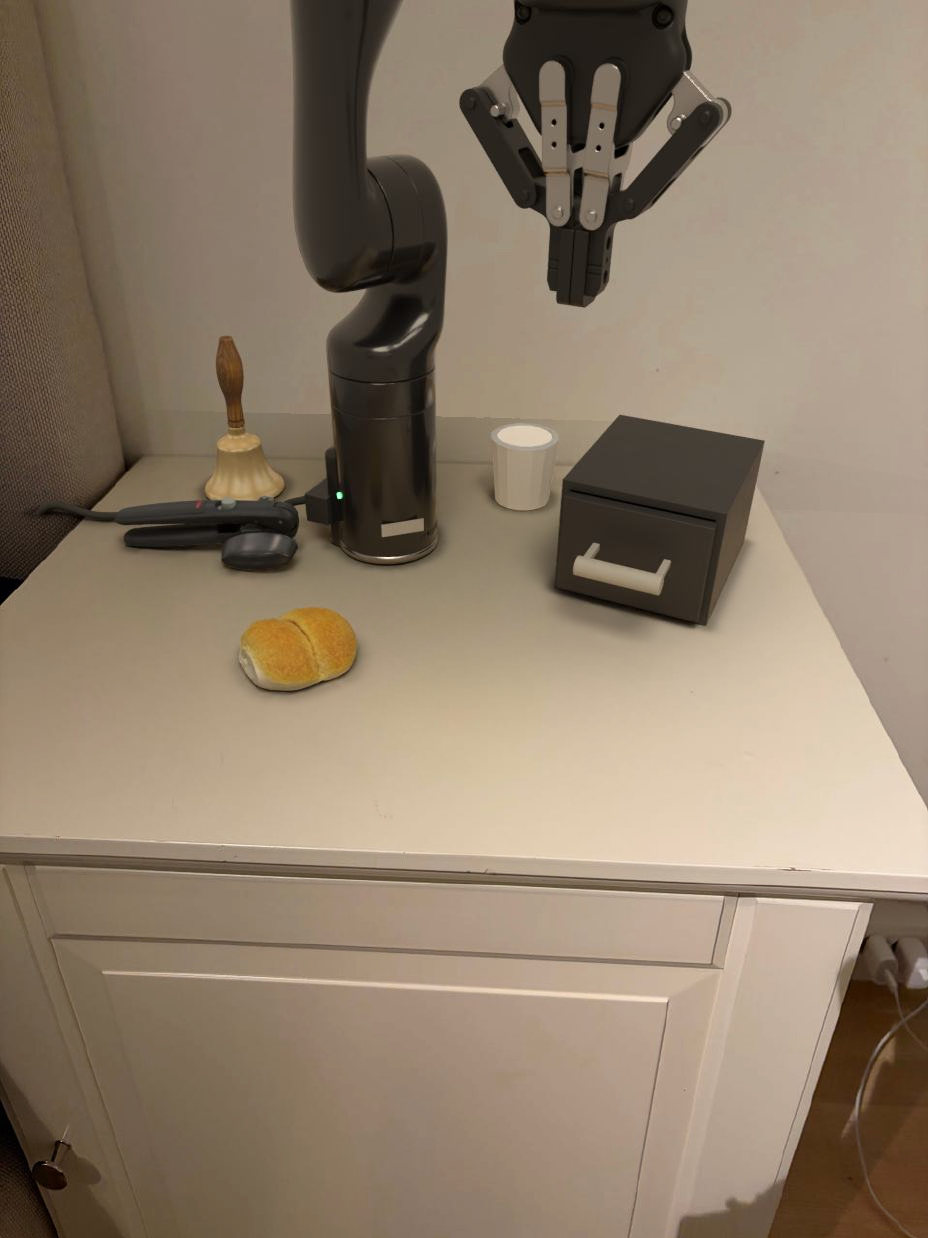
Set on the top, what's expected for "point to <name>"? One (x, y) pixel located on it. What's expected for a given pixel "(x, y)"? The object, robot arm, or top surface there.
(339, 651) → the bread roll
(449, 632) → the top surface
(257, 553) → the can opener
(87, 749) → the top surface
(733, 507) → the single drawer cabinet
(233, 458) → the hand bell
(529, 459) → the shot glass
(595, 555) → the cabinet drawer
